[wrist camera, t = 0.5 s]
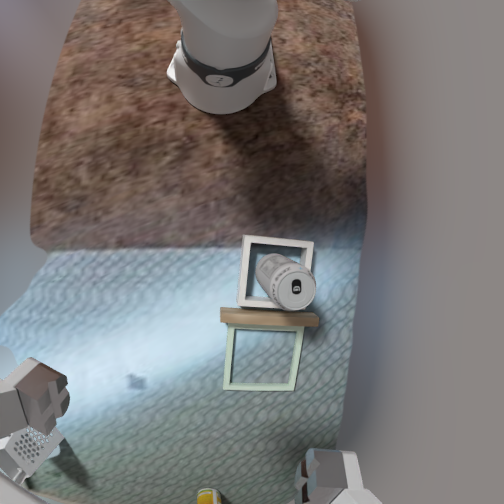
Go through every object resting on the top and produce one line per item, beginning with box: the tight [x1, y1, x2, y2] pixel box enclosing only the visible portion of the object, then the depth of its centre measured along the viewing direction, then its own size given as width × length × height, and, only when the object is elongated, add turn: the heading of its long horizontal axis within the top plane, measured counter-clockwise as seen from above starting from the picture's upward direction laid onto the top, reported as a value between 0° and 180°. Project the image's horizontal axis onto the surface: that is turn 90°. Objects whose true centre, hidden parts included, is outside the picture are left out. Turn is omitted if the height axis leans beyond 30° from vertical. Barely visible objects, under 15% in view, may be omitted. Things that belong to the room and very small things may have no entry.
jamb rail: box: [220, 307, 319, 327], centre depth 51 cm, size 2×16×4 cm, turn 84°
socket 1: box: [236, 234, 314, 309], centre depth 51 cm, size 11×11×3 cm
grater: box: [0, 426, 65, 486], centre depth 39 cm, size 10×10×20 cm
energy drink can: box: [255, 253, 316, 311], centre depth 45 cm, size 6×6×15 cm
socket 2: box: [223, 323, 304, 391], centre depth 53 cm, size 13×13×1 cm
